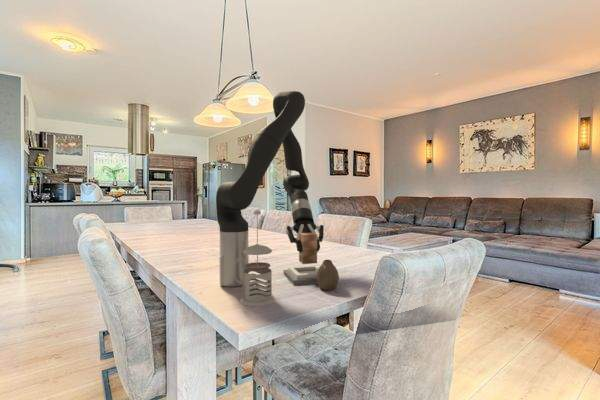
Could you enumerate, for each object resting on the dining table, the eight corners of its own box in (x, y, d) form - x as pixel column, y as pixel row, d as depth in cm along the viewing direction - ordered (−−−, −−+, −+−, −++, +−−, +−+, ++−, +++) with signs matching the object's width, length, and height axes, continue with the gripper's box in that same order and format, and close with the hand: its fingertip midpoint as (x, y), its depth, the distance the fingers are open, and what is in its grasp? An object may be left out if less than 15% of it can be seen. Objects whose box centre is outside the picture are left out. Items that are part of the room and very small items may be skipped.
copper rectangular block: (303, 264, 105) (303, 234, 105) (299, 260, 110) (298, 232, 109) (317, 263, 106) (317, 234, 106) (312, 259, 111) (312, 232, 111)
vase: (323, 293, 92) (323, 263, 91) (312, 286, 98) (312, 259, 97) (343, 289, 95) (343, 261, 94) (330, 283, 101) (330, 257, 101)
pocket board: (293, 285, 99) (293, 276, 99) (283, 274, 113) (283, 266, 113) (334, 281, 103) (334, 273, 103) (319, 271, 117) (319, 264, 117)
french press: (279, 303, 83) (279, 210, 82) (236, 309, 79) (235, 211, 78) (270, 292, 92) (269, 208, 92) (230, 297, 88) (230, 209, 88)
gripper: (284, 207, 113) (289, 245, 102) (322, 206, 116) (331, 243, 105) (282, 220, 119) (287, 258, 107) (318, 219, 121) (327, 256, 110)
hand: (309, 250), depth 106 cm, fingers closed on copper rectangular block, 5 cm apart
